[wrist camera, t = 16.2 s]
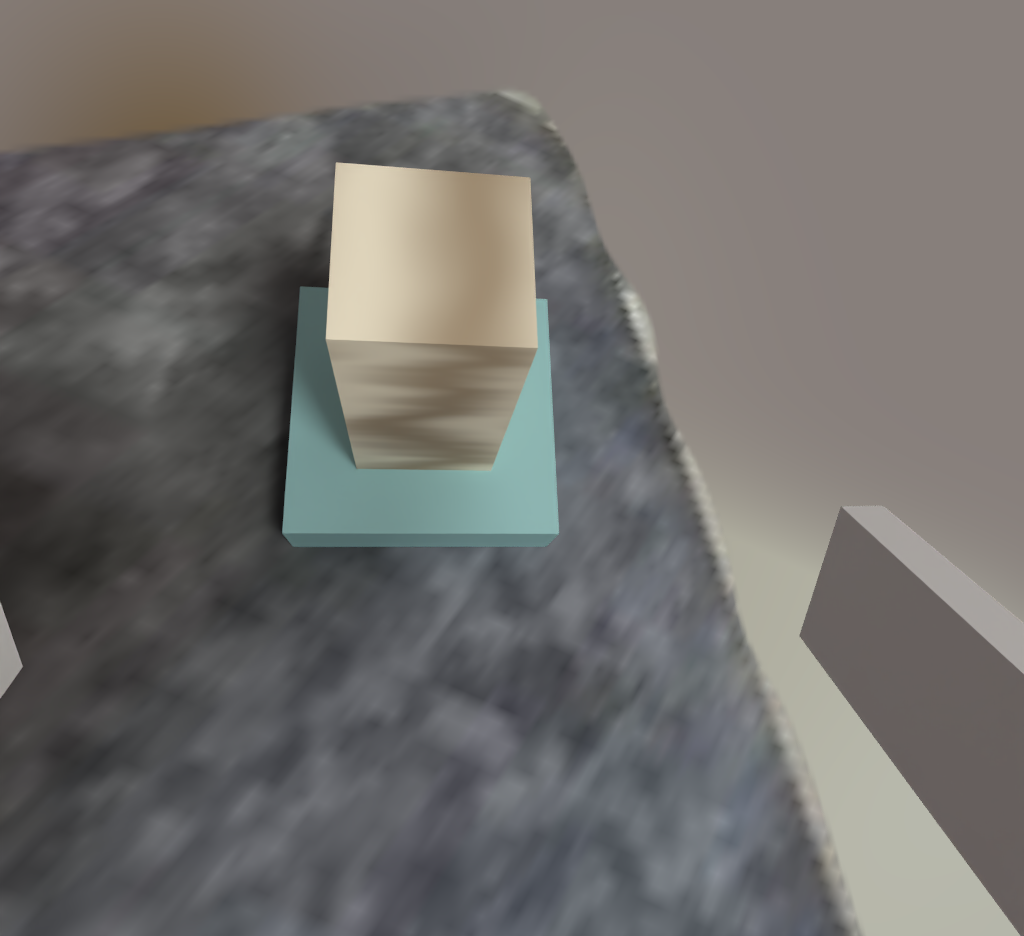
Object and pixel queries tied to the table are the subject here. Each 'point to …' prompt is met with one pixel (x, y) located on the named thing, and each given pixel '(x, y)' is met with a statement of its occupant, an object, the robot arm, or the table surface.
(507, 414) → the pale wooden block
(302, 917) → the table surface
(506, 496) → the teal board
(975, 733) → the robot arm
